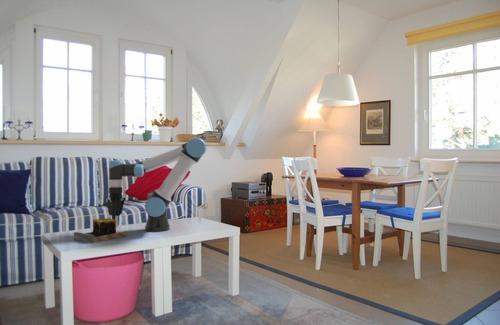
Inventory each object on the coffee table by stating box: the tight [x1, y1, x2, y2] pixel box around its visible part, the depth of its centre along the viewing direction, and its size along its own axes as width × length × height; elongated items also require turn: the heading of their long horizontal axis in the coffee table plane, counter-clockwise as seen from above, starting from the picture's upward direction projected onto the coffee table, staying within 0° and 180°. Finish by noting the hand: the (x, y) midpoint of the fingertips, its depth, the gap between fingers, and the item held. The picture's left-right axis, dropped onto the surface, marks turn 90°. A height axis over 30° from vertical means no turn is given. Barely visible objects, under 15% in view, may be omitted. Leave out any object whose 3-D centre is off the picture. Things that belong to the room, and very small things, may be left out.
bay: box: [73, 230, 128, 244], centre depth 224 cm, size 23×16×4 cm
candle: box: [92, 217, 117, 237], centre depth 225 cm, size 10×10×10 cm
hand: (115, 226), depth 233 cm, fingers closed
